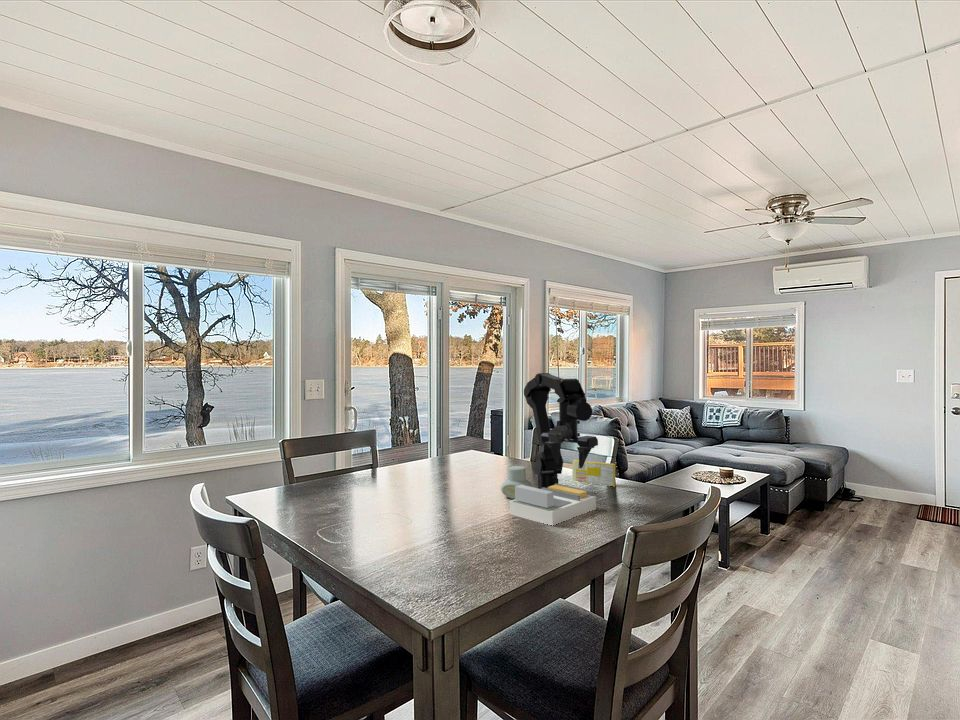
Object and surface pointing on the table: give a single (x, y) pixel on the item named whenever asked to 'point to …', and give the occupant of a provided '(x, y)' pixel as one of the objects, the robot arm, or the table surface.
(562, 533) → the table surface
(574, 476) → the candy box
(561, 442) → the robot arm
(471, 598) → the table surface
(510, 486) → the air freshener
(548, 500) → the grey rectangular block
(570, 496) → the breaker box
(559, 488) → the yellow rectangular block
